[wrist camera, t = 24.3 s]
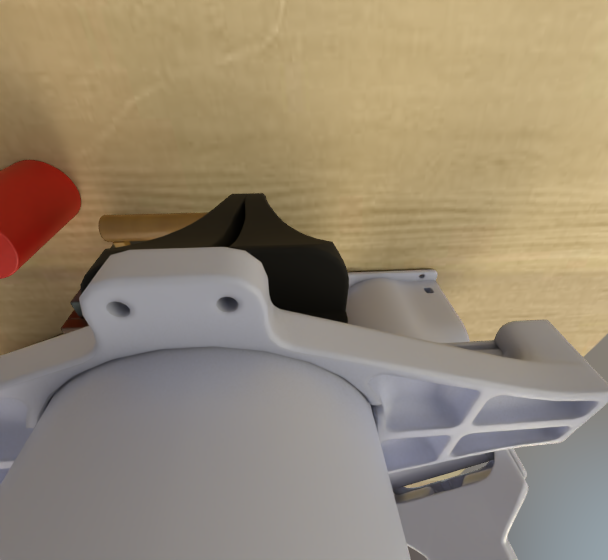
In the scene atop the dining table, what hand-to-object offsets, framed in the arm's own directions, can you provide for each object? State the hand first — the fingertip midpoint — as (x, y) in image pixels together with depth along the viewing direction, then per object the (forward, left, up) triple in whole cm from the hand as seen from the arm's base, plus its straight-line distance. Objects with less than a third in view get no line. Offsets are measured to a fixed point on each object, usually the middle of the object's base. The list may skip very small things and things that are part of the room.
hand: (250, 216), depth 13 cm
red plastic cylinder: (+15, +3, -10) cm, 18 cm away
